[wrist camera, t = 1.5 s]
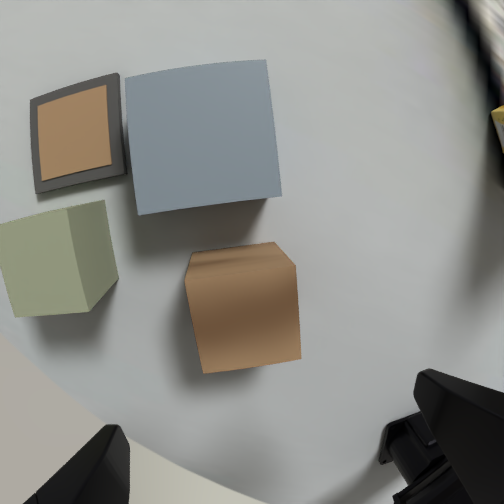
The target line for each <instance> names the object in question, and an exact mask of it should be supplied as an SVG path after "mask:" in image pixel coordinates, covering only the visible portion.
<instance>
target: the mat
mask: <svg viewBox="0 0 504 504" xmlns="http://www.w3.org/2000/svg"><path fill="white" fill-rule="evenodd" d="M30 130H31V150H32V163H33V174H34V183H35V192H36V194H39V193H43V192H47V191H51V190H55V189H59V188H63V187H67V186H72V185H76V184H80V183H85V182H89V181H94V180H99V179H103V178H108V177H113V176H118V175H123V174H127V168H126V159H125V149H124V139H123V127H122V113H121V96H120V75H119V74H118V73H113V74H109V75H105V76H101V77H98V78H94V79H90V80H87V81H84V82H80V83H77V84H74V85H70V86H67V87H64V88H61V89H58V90H55V91H53V92H50V93H47V94H44V95H41V96H39V97H36V98H33V99H31V100H30Z"/></svg>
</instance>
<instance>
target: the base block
mask: <svg viewBox="0 0 504 504" xmlns="http://www.w3.org/2000/svg"><path fill="white" fill-rule="evenodd" d="M125 92H126V109H127V123H128V135H129V146H130V156H131V165H132V174H133V182H134V190H135V197H136V204H137V211H138V215H144V214H150V213H157V212H163V211H170V210H177V209H184V208H191V207H198V206H206V205H213V204H221V203H229V202H237V201H245V200H253V199H262V198H271V197H280V196H282V191H281V181H280V171H279V162H278V153H277V144H276V135H275V127H274V118H273V110H272V102H271V94H270V86H269V79H268V71H267V64H266V60H248V61H234V62H223V63H213V64H204V65H196V66H189V67H182V68H175V69H169V70H163V71H158V72H152V73H147V74H142V75H137V76H133V77H128V78H125Z"/></svg>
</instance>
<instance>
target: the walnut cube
mask: <svg viewBox="0 0 504 504" xmlns="http://www.w3.org/2000/svg"><path fill="white" fill-rule="evenodd" d="M184 281H185V287H186V292H187V298H188V303H189V308H190V313H191V318H192V323H193V328H194V333H195V338H196V343H197V347H198V352H199V357H200V361H201V366H202V370H203V374H205V373H213V372H222V371H229V370H237V369H244V368H251V367H258V366H264V365H270V364H276V363H282V362H288V361H293V360H298V359H301V342H300V324H299V307H298V292H297V277H296V265H295V264H294V263H293V262H292V261H291V260H290V259H289V258H288V256H287V255H286V254H285V253H284V252H283V251H282V250H281V249H280V248H279V246H278V245H277V244H276V243H275V242H268V243H261V244H253V245H246V246H238V247H230V248H223V249H215V250H208V251H200V252H193V253H192V256H191V259H190V263H189V266H188V270H187V273H186V277H185V280H184Z"/></svg>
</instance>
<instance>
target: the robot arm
mask: <svg viewBox="0 0 504 504" xmlns="http://www.w3.org/2000/svg"><path fill="white" fill-rule="evenodd" d="M413 394H414V398H415V401H416V403H417V405H418V407H419V409H420V412H418V413H415V414H413V415H410V416H407V417H405V418H402V419H399V420H396V421H394V422H391V423H389V424H388V425H387V428H386V432H385V437H384V441H383V446H382V450H381V454H380V458H379V463H380V464H381V465H383V464H386V463H389V462H391V461H394V463H395V464H396V466H397V468H398V469H399V471H400V473H401V474H402V476H403V478H404V479H405V481H406V483H407V484H408V486H407V487H406V488H405V489H403V490H402V491H400V492H399V493H396V494H395V495H393V496H392V497H393V500H394V504H504V393H503V392H500V391H496V390H493V389H490V388H487V387H484V386H481V385H478V384H475V383H472V382H469V381H466V380H463V379H460V378H457V377H454V376H451V375H448V374H445V373H442V372H439V371H436V370H433V369H426V370H423V371H420V372H419V373H418V375H417V378H416V383H415V387H414V393H413ZM129 493H130V446H129V443H128V441H127V439H126V437H125V435H124V433H123V431H122V428H121V427H120V426H119V425H117V424H107V425H105V426H104V427H103V428H102V429H101V430H100V431H99V432H98V433H97V434H95V435H94V437H92V438H91V439H90V441H88V442H87V443H86V444H85V445H84V446H83V447H82V448H81V449H80V450H79V451H78V452H77V453H76V454H75V455H74V456H73V457H72V458H71V459H70V460H69V461H68V462H67V463H66V464H65V465H64V466H63V467H61V468H60V469H59V470H58V471H57V472H56V473H55V474H54V475H53V476H52V477H51V478H50V479H49V480H48V481H47V482H46V483H45V484H44V485H43V486H42V487H41V488H39V489H38V490H37V492H36V493H34V494H33V495H32V496H31V497H30V498H29V499H28V500H27V501H25V502H24V503H23V504H128V502H129Z"/></svg>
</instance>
